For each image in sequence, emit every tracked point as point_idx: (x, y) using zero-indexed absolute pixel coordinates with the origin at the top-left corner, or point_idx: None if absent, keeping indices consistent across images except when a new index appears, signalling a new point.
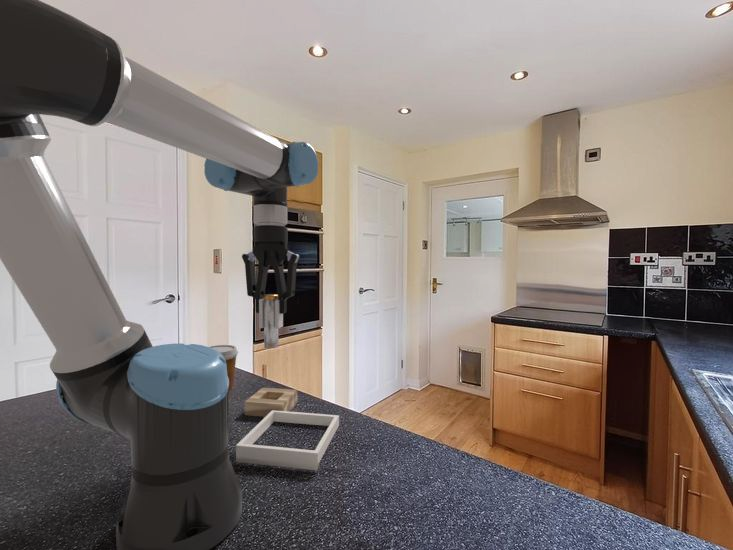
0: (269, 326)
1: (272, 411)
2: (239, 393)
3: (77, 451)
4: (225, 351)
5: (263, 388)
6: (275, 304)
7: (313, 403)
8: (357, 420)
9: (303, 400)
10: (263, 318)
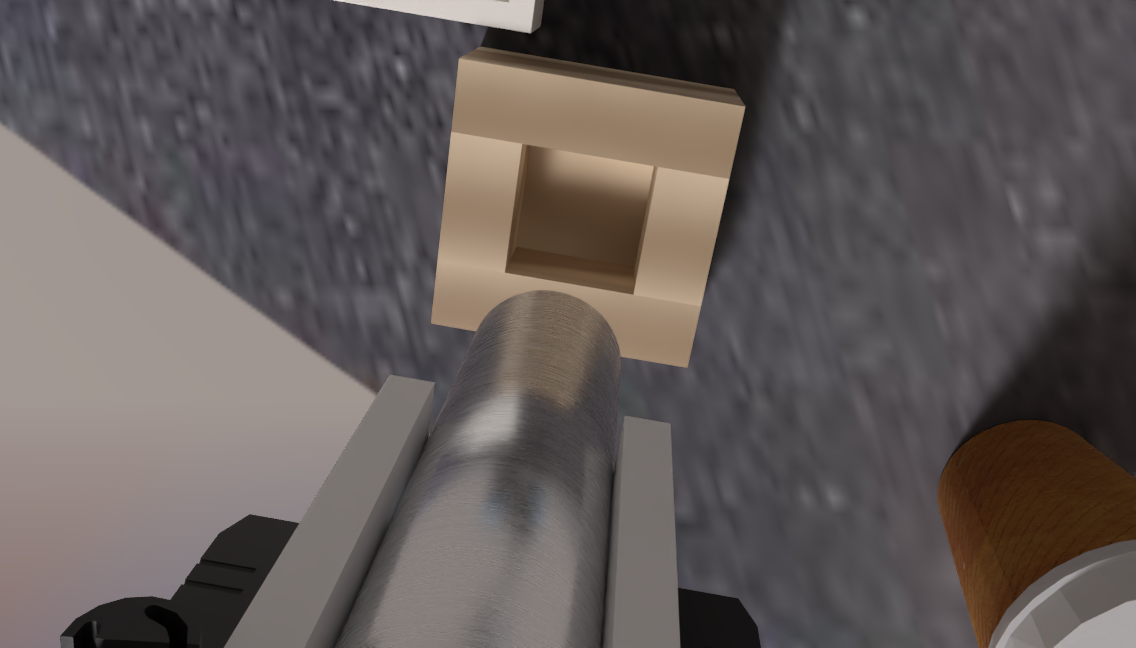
0: (509, 396)
1: (522, 12)
2: (881, 480)
3: None
4: (1090, 630)
5: (676, 349)
6: (318, 598)
7: (363, 323)
8: (41, 83)
9: (436, 368)
10: (613, 522)
